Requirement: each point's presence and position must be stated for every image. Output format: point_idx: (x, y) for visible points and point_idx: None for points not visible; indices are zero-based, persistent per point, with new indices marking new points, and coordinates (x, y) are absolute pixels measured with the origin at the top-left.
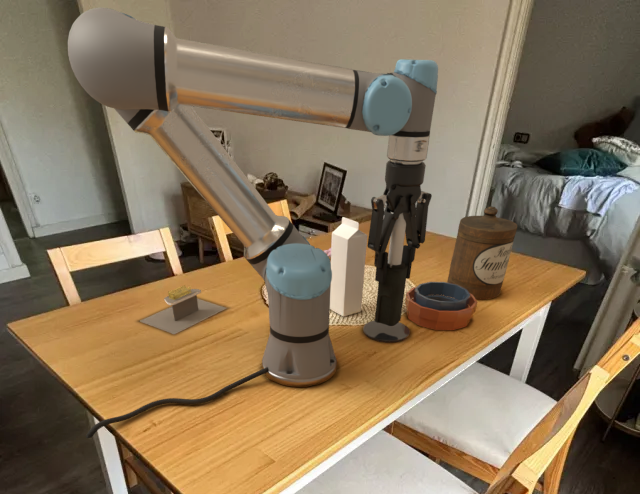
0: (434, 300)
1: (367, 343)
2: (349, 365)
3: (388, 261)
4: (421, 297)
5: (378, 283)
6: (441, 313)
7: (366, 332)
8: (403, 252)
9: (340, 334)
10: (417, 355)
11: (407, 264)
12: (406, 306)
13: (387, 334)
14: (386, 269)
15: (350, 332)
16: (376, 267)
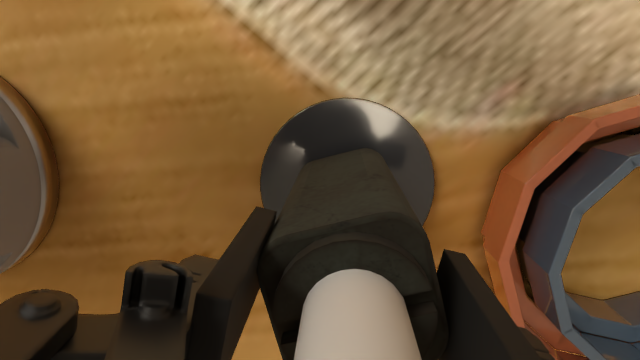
0: (558, 306)
1: (230, 198)
2: (86, 256)
3: (306, 302)
4: (558, 237)
5: (282, 210)
6: None
7: (271, 154)
8: (490, 341)
9: (200, 87)
10: None
11: (447, 355)
12: (531, 151)
13: None
14: (244, 324)
15: (241, 100)
16: (237, 235)
